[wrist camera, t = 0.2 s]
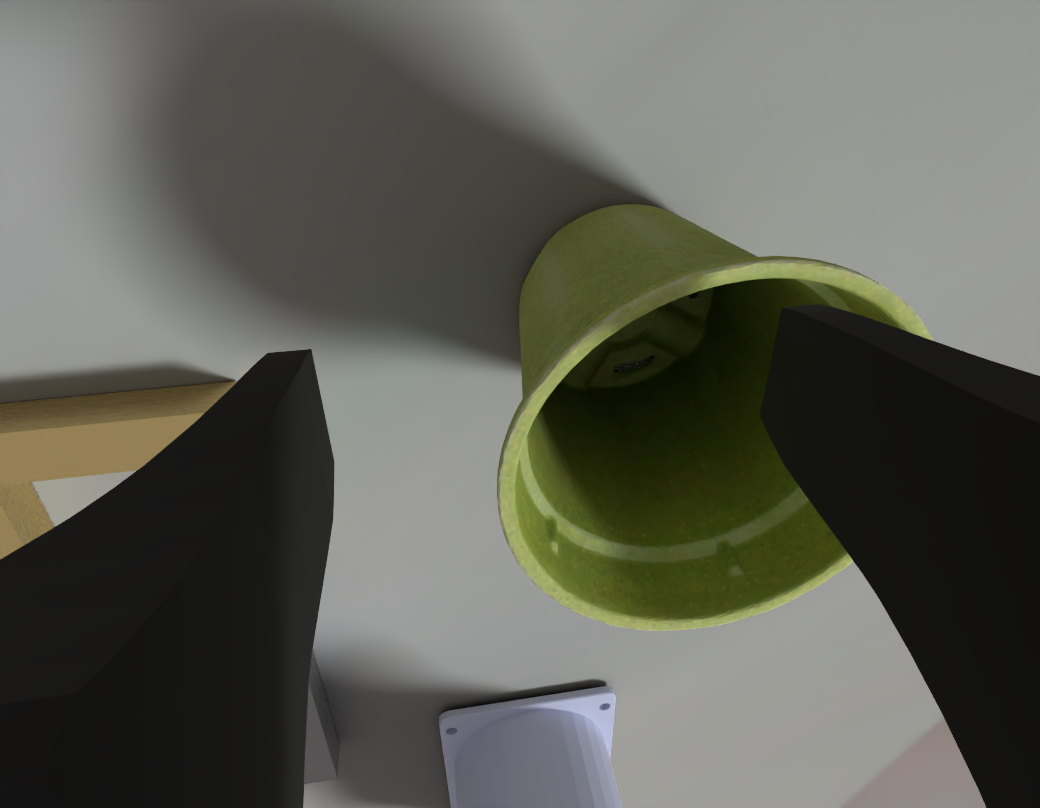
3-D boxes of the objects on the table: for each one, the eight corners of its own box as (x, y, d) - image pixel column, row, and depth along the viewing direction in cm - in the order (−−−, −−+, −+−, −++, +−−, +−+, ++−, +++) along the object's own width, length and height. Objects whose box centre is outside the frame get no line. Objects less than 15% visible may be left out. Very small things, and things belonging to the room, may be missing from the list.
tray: (339, 743, 32) (337, 778, 30) (151, 773, 31) (140, 810, 29) (236, 380, 21) (226, 410, 20) (-56, 409, 20) (-87, 442, 19)
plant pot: (518, 463, 24) (573, 680, 17) (409, 214, 19) (424, 379, 12) (776, 369, 24) (942, 552, 17) (737, 88, 19) (956, 180, 12)
